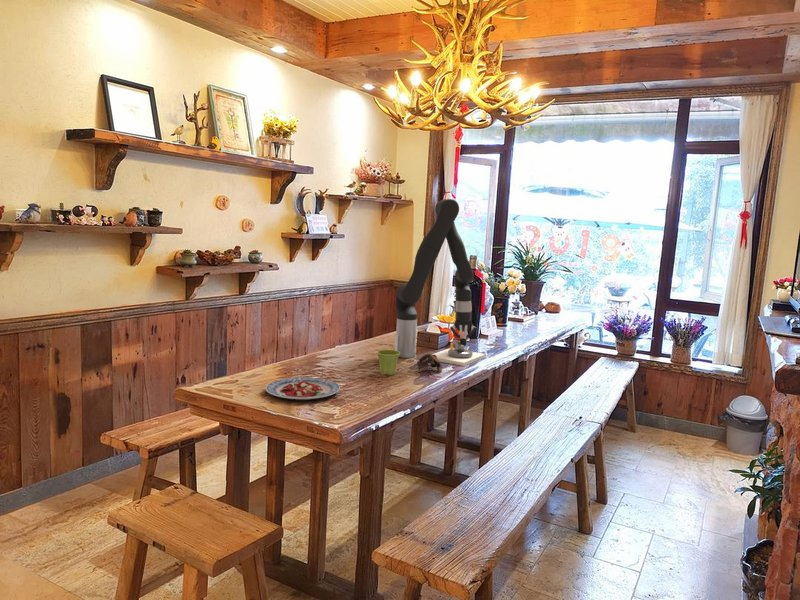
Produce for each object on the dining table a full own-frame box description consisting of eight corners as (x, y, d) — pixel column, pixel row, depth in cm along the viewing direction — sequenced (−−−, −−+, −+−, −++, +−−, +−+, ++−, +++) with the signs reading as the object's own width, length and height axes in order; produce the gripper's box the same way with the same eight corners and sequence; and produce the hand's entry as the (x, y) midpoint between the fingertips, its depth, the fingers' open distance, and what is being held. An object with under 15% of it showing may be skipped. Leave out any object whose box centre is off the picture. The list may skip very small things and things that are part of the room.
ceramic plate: (251, 391, 206) (251, 382, 206) (311, 379, 224) (311, 371, 224) (293, 409, 188) (293, 400, 187) (354, 395, 206) (354, 387, 205)
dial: (474, 357, 262) (475, 348, 261) (450, 357, 261) (451, 347, 260) (466, 349, 279) (466, 339, 279) (443, 348, 278) (444, 339, 278)
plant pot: (385, 377, 230) (386, 355, 229) (371, 372, 237) (372, 351, 236) (404, 374, 236) (404, 353, 235) (389, 369, 243) (390, 348, 242)
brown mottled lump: (441, 376, 237) (432, 359, 235) (421, 383, 241) (412, 366, 239) (447, 362, 248) (438, 346, 246) (427, 369, 251) (418, 353, 250)
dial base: (463, 366, 254) (464, 355, 253) (427, 359, 263) (427, 349, 263) (485, 357, 272) (485, 347, 271) (450, 351, 282) (450, 342, 281)
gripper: (477, 309, 277) (476, 344, 280) (449, 308, 278) (448, 344, 280) (478, 311, 270) (477, 348, 272) (449, 311, 271) (449, 347, 273)
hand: (462, 346), depth 276 cm, fingers closed
